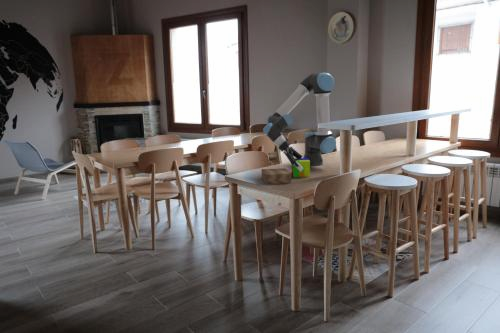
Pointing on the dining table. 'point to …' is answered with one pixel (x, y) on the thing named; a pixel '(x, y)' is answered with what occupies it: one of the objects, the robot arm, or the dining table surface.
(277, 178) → the walnut block
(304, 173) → the puzzle toy
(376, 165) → the dining table surface
